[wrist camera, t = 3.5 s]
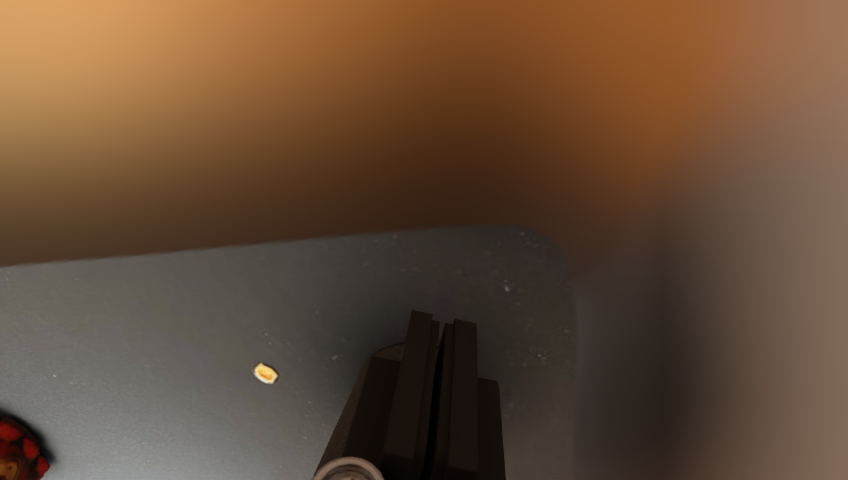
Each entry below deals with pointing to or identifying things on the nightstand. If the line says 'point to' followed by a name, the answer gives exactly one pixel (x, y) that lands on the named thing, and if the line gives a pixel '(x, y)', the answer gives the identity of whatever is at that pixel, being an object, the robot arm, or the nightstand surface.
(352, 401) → the coffee cup
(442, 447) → the robot arm
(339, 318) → the nightstand surface
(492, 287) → the nightstand surface
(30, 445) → the red clay folk toy
